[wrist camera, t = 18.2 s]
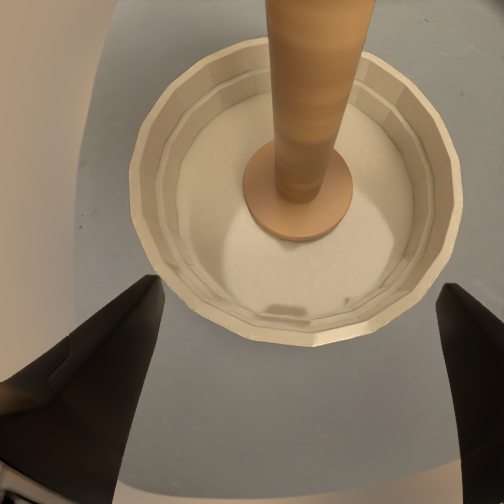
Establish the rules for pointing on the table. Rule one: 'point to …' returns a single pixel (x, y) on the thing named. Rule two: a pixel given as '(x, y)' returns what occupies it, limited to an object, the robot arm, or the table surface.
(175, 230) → the bowl
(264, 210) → the tan wooden tall post
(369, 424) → the table surface
